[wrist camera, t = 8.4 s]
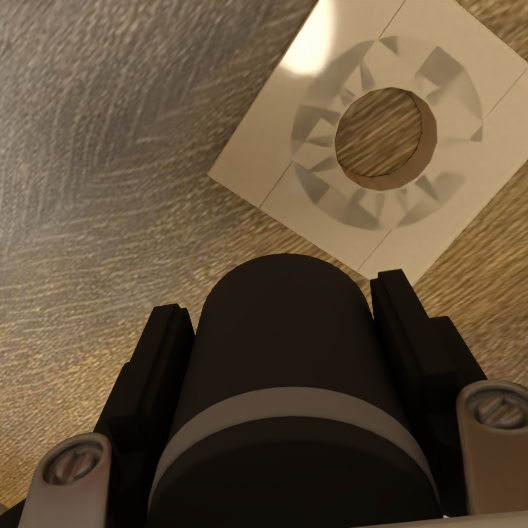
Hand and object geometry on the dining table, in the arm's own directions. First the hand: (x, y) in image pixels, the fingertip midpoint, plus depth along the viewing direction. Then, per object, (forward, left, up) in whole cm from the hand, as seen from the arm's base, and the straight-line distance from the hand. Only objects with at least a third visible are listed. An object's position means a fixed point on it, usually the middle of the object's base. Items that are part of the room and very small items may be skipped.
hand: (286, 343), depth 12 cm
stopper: (0, 0, -1) cm, 1 cm away
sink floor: (+4, +5, -20) cm, 21 cm away
